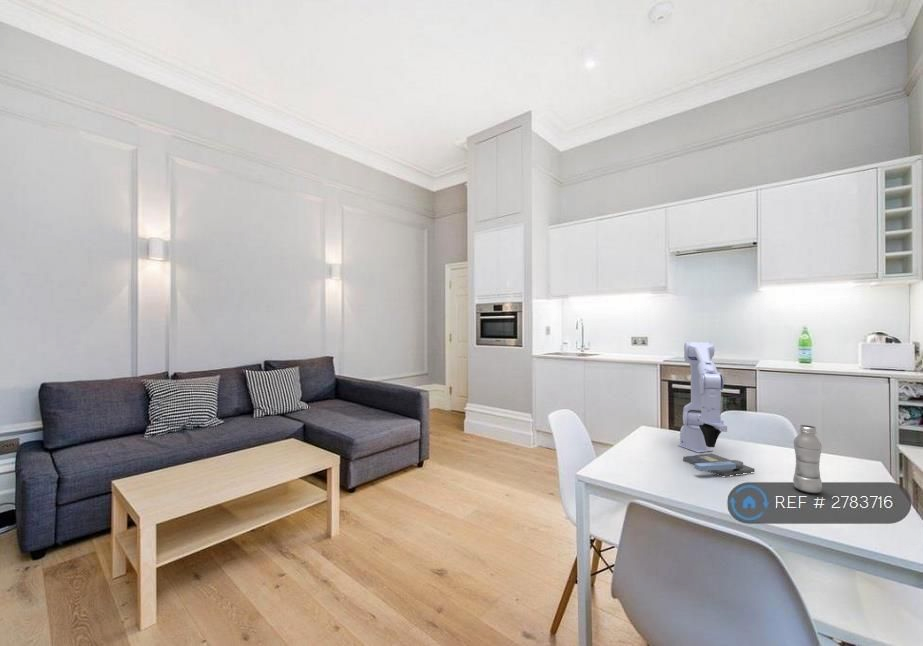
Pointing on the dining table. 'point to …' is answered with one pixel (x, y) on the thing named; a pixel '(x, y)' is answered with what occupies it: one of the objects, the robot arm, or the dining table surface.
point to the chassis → (715, 458)
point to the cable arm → (719, 465)
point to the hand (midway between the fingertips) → (710, 446)
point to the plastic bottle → (807, 460)
